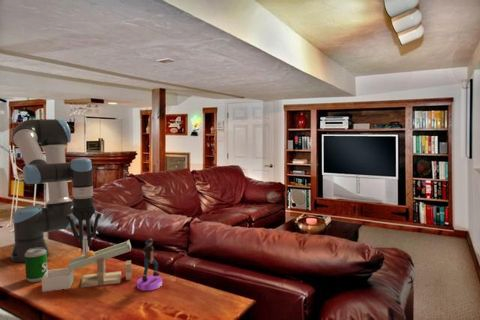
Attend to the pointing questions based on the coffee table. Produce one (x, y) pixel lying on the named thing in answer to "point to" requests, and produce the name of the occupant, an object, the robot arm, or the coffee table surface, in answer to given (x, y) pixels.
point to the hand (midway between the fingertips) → (86, 254)
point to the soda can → (35, 264)
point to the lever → (105, 253)
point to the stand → (105, 275)
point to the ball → (89, 254)
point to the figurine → (150, 280)
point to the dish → (57, 279)
